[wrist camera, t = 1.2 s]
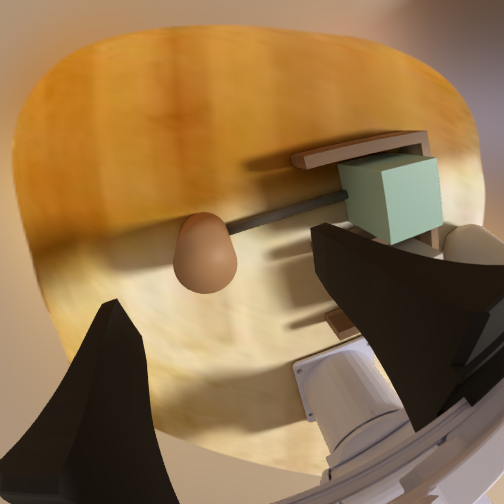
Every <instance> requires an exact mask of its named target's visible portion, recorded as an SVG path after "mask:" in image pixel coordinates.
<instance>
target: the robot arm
mask: <svg viewBox="0 0 504 504" xmlns="http://www.w3.org/2000/svg"><path fill="white" fill-rule="evenodd" d="M310 230H311V238H312V246H313V255H314V264H315V272H316V274H317V276H318V277H319V279H320V281H321V282H322V284H323V286H324V287H325V289H326V290H327V292H328V293H329V295H330V296H331V297H332V298H333V300H334V301H335V302H336V303H337V304H338V306H339V307H340V308H341V309H342V311H343V312H344V313H345V314H346V315H347V317H348V318H349V319H350V320H351V322H352V323H353V324H354V325H355V326H356V328H357V329H358V330H359V331H360V333H361V334H362V335H363V336H361V337H359V338H356V339H354V340H351V341H349V342H347V343H344V344H342V345H339V346H337V347H334V348H332V349H329V350H327V351H324V352H321V353H319V354H316V355H313V356H311V357H308V358H305V359H302V360H300V361H297V362H295V363H294V364H293V366H292V367H293V371H294V374H295V378H296V382H297V385H298V389H299V392H300V396H301V399H302V403H303V407H304V410H305V414H306V417H307V420H308V422H314V421H317V423H318V426H319V428H320V430H321V432H322V435H323V437H324V439H325V442H326V444H327V446H328V448H329V451H330V453H331V454H330V455H329V456H327V457H326V460H327V462H328V465H329V467H330V468H328V469H326V470H324V471H323V473H322V478H321V481H320V485H319V486H316V487H314V488H312V489H309V490H307V491H304V492H302V493H299V494H297V495H294V496H291V497H288V498H286V499H283V500H280V501H277V502H274V503H271V504H492V503H491V501H490V500H489V498H488V496H487V495H486V492H487V491H488V490H489V489H490V488H491V487H492V486H493V485H494V484H495V483H496V482H497V480H498V479H499V478H500V477H501V476H502V475H503V473H504V265H482V264H470V263H461V262H454V261H448V260H442V259H436V258H431V257H427V256H423V255H419V254H415V253H411V252H407V251H404V250H400V249H397V248H394V247H391V246H388V245H385V244H382V243H379V242H377V241H374V240H371V239H368V238H366V237H363V236H361V235H358V234H355V233H353V232H350V231H348V230H345V229H342V228H340V227H337V226H334V225H331V224H328V223H323V224H320V225H317V226H314V227H312V228H310ZM367 343H368V344H367ZM374 353H375V355H376V356H377V358H378V360H379V361H380V363H381V365H382V367H383V368H384V370H385V372H386V374H387V375H388V377H389V379H390V381H391V383H392V385H393V386H394V388H395V390H396V392H397V394H398V396H399V397H398V396H397V394H396V393H395V392H394V390H393V389H392V388H391V386H390V385H389V384H388V382H387V381H386V379H385V378H384V377H383V376H382V374H381V373H380V372H379V370H378V369H377V368H376V366H375V365H374ZM299 369H301V370H299ZM298 370H299V371H298ZM0 496H1V497H2V498H3V499H4V500H6V501H7V502H9V503H11V504H180V503H179V501H178V499H177V496H176V494H175V492H174V489H173V487H172V485H171V482H170V479H169V476H168V474H167V471H166V468H165V465H164V462H163V459H162V456H161V452H160V449H159V445H158V442H157V438H156V434H155V430H154V426H153V421H152V414H151V406H150V396H149V384H148V372H147V360H146V355H145V350H144V345H143V340H142V336H141V334H140V333H139V332H138V330H137V329H136V327H135V326H134V324H133V323H132V321H131V320H130V318H129V317H128V315H127V313H126V312H125V310H124V309H123V307H122V306H121V304H120V303H119V301H118V299H114V300H111V301H108V302H106V303H103V304H102V305H101V307H100V308H99V310H98V312H97V314H96V316H95V318H94V320H93V322H92V324H91V326H90V328H89V330H88V332H87V334H86V336H85V338H84V340H83V342H82V344H81V346H80V348H79V350H78V352H77V354H76V356H75V357H74V359H73V361H72V363H71V365H70V367H69V369H68V371H67V373H66V375H65V376H64V378H63V380H62V381H61V383H60V385H59V386H58V388H57V390H56V391H55V393H54V394H53V396H52V398H51V399H50V400H49V402H48V403H47V405H46V406H45V408H44V409H43V411H42V412H41V413H40V415H39V416H38V418H37V419H36V420H35V422H34V423H33V424H32V425H31V427H30V428H29V429H28V430H27V432H26V433H25V434H24V435H23V436H22V438H21V439H20V440H19V441H18V442H17V443H16V444H15V445H14V446H13V447H12V449H10V450H9V452H7V453H6V455H5V456H4V457H3V458H2V459H0Z"/></svg>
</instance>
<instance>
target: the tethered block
mask: <svg viewBox="0 0 504 504" xmlns="http://www.w3.org/2000/svg"><path fill="white" fill-rule="evenodd" d="M337 166H338V170H339V175H340V179H341V184H342V189H343V190H342V191H339V192H335V193H332V194H328V195H325V196H321V197H318V198H315V199H311V200H308V201H304V202H301V203H298V204H294V205H291V206H288V207H285V208H281V209H278V210H275V211H271V212H268V213H265V214H262V215H259V216H255V217H252V218H249V219H246V220H243V221H239V222H236V223H233V224H230V225H227V226H226V225H225V223H224V222H223V221H222V220H221V219H220V218H219V217H218V216H216V215H214V214H211V213H207V212H202V213H197V214H194V215H192V216H190V217H189V218H188V219H187V220H186V221H185V222H184V223H183V225H182V227H181V230H180V234H179V238H178V242H177V247H176V251H175V255H174V261H173V267H174V272H175V275H176V277H177V279H178V280H179V282H180V283H181V284H182V285H183V286H184V287H186V288H187V289H189V290H191V291H193V292H196V293H202V294H209V293H214V292H217V291H219V290H221V289H223V288H225V287H226V286H227V285H228V284H229V283H230V282H231V281H232V279H233V278H234V276H235V273H236V270H237V257H236V254H235V251H234V248H233V245H232V242H231V239H230V236H229V235H233V234H236V233H239V232H242V231H245V230H248V229H251V228H254V227H258V226H261V225H264V224H267V223H270V222H274V221H277V220H280V219H283V218H286V217H290V216H293V215H296V214H299V213H303V212H306V211H309V210H312V209H316V208H319V207H322V206H326V205H329V204H332V203H336V202H339V201H342V200H345V205H346V210H347V215H348V221H349V222H351V223H352V224H354V225H356V226H358V227H360V228H362V229H364V230H365V231H367V232H369V233H371V234H373V235H374V236H376V237H378V238H380V239H381V240H383V241H385V242H387V243H389V244H390V245H393V244H395V243H398V242H401V241H403V240H406V239H408V238H411V237H414V236H416V235H419V234H421V233H424V232H426V231H429V230H431V229H434V228H436V227H439V226H441V225H443V217H442V202H441V191H440V181H439V172H438V165H437V158H435V157H427V156H418V155H409V154H399V153H388V152H386V153H381V154H377V155H372V156H368V157H364V158H360V159H356V160H352V161H347V162H343V163H339V164H337Z"/></svg>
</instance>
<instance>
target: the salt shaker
mask: <svg viewBox="0 0 504 504" xmlns="http://www.w3.org/2000/svg"><path fill="white" fill-rule="evenodd" d="M442 253H443V258H444V260H448V261H454V262H461V263H470V264H482V265H504V242H503V241H501V240H500V239H499V238H497V237H496V236H495V235H493V234H492V233H491V232H489V231H488V230H486V229H485V228H484V227H482V226H479V225H475V224H469V225H464V226H459V227H457V228H456V229H454V230H453V231H452V232H451V233H450V234H448V235H447V236H446V240H445V244H444V248H443V251H442Z"/></svg>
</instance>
